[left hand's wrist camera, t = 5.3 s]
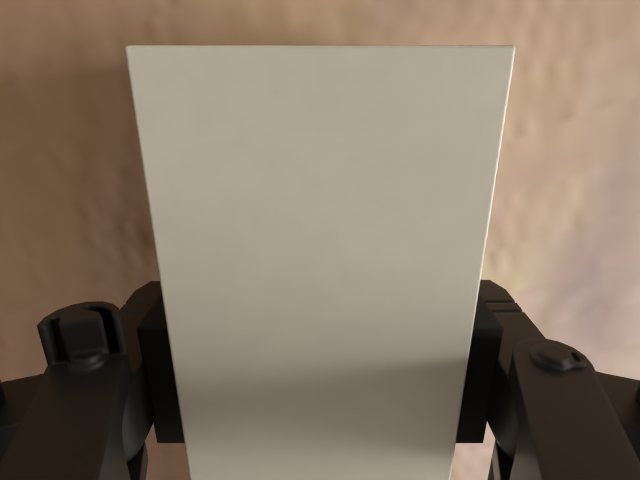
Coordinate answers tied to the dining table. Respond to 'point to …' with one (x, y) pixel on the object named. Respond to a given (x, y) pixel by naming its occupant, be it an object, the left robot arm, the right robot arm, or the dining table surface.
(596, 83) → the dining table surface
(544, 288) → the dining table surface
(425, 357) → the beam
